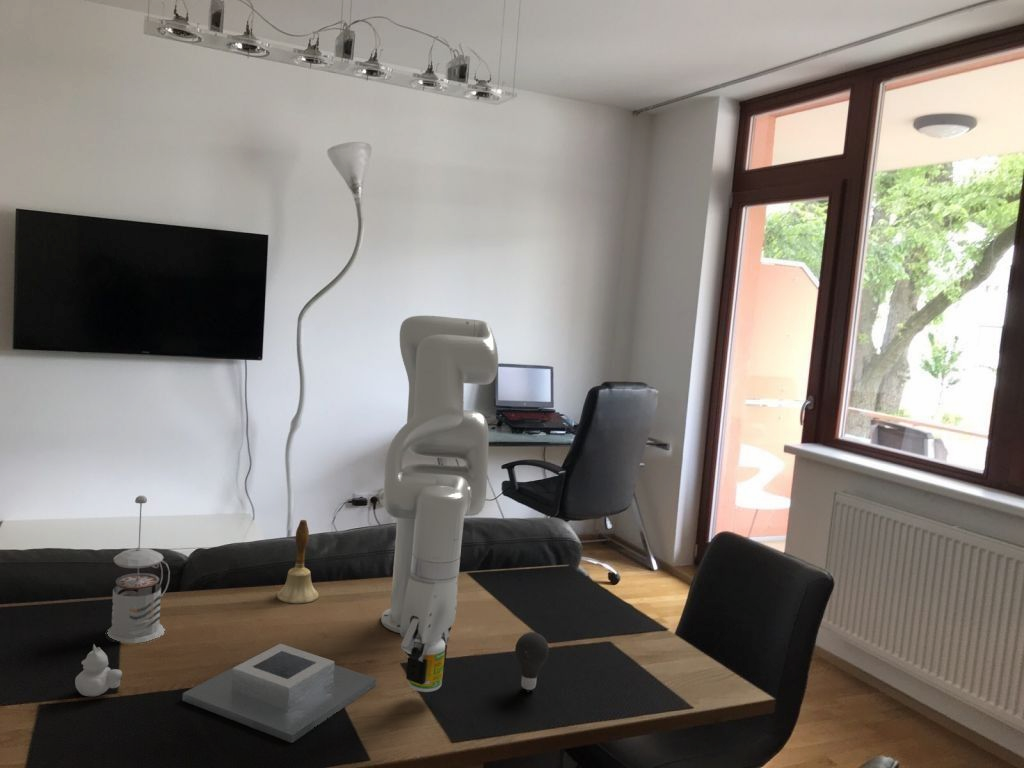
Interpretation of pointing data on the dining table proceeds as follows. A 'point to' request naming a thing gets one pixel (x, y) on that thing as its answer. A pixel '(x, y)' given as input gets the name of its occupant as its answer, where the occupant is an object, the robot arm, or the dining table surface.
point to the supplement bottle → (432, 665)
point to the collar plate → (273, 714)
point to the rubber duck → (97, 674)
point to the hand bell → (299, 573)
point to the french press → (137, 623)
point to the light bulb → (531, 657)
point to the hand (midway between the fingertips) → (425, 672)
